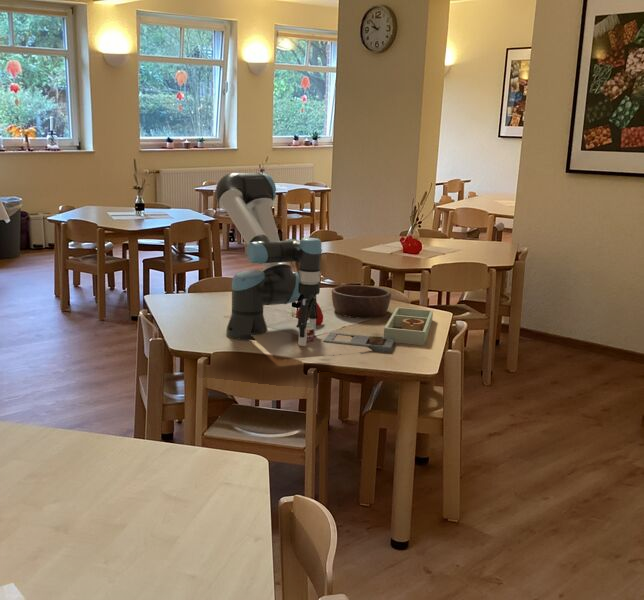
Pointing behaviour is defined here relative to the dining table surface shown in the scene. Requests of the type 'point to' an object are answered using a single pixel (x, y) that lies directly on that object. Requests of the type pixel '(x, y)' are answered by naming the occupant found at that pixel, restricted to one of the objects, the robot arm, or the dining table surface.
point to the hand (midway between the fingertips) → (306, 340)
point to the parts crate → (408, 335)
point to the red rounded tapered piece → (320, 315)
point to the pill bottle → (310, 331)
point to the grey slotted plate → (363, 342)
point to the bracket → (413, 324)
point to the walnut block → (376, 339)
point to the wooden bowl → (361, 301)
